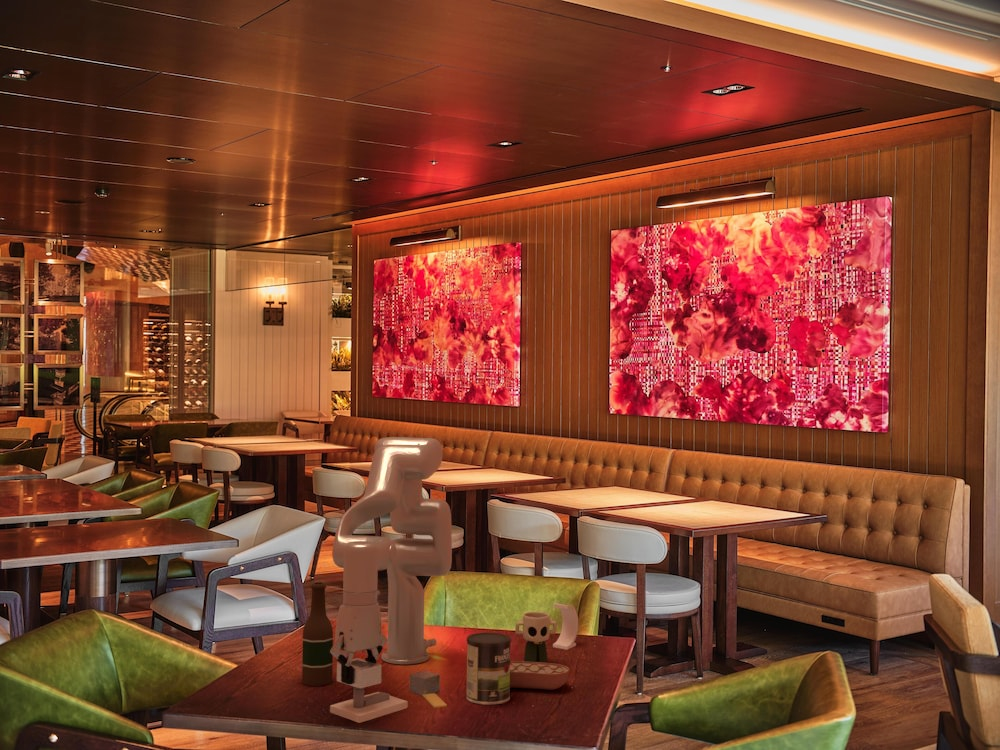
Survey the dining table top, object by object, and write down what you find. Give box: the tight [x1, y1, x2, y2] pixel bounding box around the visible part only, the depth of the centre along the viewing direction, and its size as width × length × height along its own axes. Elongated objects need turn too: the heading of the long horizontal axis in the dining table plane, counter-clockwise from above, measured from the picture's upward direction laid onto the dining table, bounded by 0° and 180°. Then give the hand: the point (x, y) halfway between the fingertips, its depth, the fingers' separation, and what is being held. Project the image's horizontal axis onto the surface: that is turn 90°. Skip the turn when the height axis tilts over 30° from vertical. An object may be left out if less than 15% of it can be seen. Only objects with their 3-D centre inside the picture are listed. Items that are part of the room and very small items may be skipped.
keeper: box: [329, 687, 408, 724], centre depth 229 cm, size 14×10×6 cm
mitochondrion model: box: [510, 660, 570, 691], centre depth 248 cm, size 23×10×5 cm, turn 86°
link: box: [336, 657, 382, 689], centre depth 227 cm, size 6×8×4 cm
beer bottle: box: [301, 581, 334, 687], centre depth 250 cm, size 8×8×24 cm
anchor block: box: [409, 670, 441, 697], centre depth 243 cm, size 5×5×4 cm
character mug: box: [514, 611, 558, 663], centre depth 267 cm, size 11×7×13 cm, turn 99°
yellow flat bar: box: [422, 693, 448, 709], centre depth 236 cm, size 9×3×1 cm, turn 21°
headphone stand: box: [552, 602, 579, 651], centre depth 286 cm, size 5×6×12 cm
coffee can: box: [465, 632, 512, 706], centre depth 239 cm, size 10×10×14 cm
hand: (358, 679), depth 227 cm, fingers closed on link, 6 cm apart
